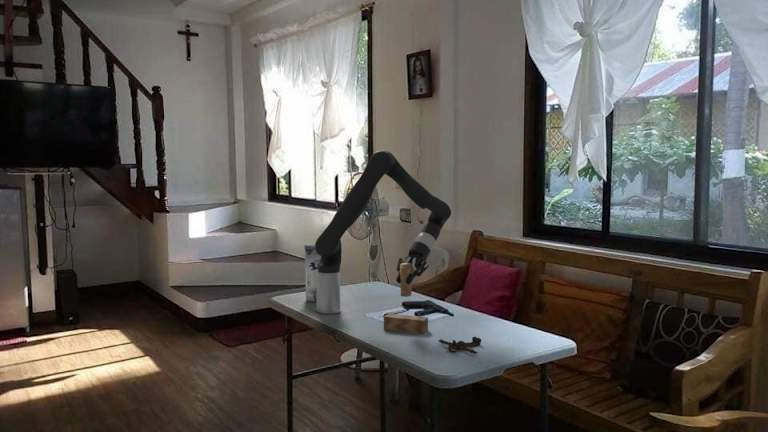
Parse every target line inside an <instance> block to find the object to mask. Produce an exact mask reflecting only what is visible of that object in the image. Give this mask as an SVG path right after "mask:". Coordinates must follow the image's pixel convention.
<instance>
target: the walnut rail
mask: <svg viewBox="0 0 768 432" xmlns="http://www.w3.org/2000/svg"><path fill="white" fill-rule="evenodd" d="M383 330H386V331H395V332H396V331H397V332H403V333H404V332H405V333H410V334H411V333H414V334H419V335H420V334H422V335H424V334H425V333H427V332H428V331H429V317H427V316H415V315H408V314H398V313H390V312H389V313H387V314H385V315H384V316H383Z"/></svg>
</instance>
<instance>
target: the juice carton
mask: <svg viewBox="0 0 768 432" xmlns="http://www.w3.org/2000/svg"><path fill="white" fill-rule="evenodd" d="M320 260H321V256H320V255H319V254H317V252H316V250H315V243H314V244H305V245H304V276H305V277H304V282H305V287H304V288H305V300H306V301H307V300H308V302H312V301H313V303H317V301H316V290H317V289H318V265H319V263H320Z"/></svg>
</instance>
